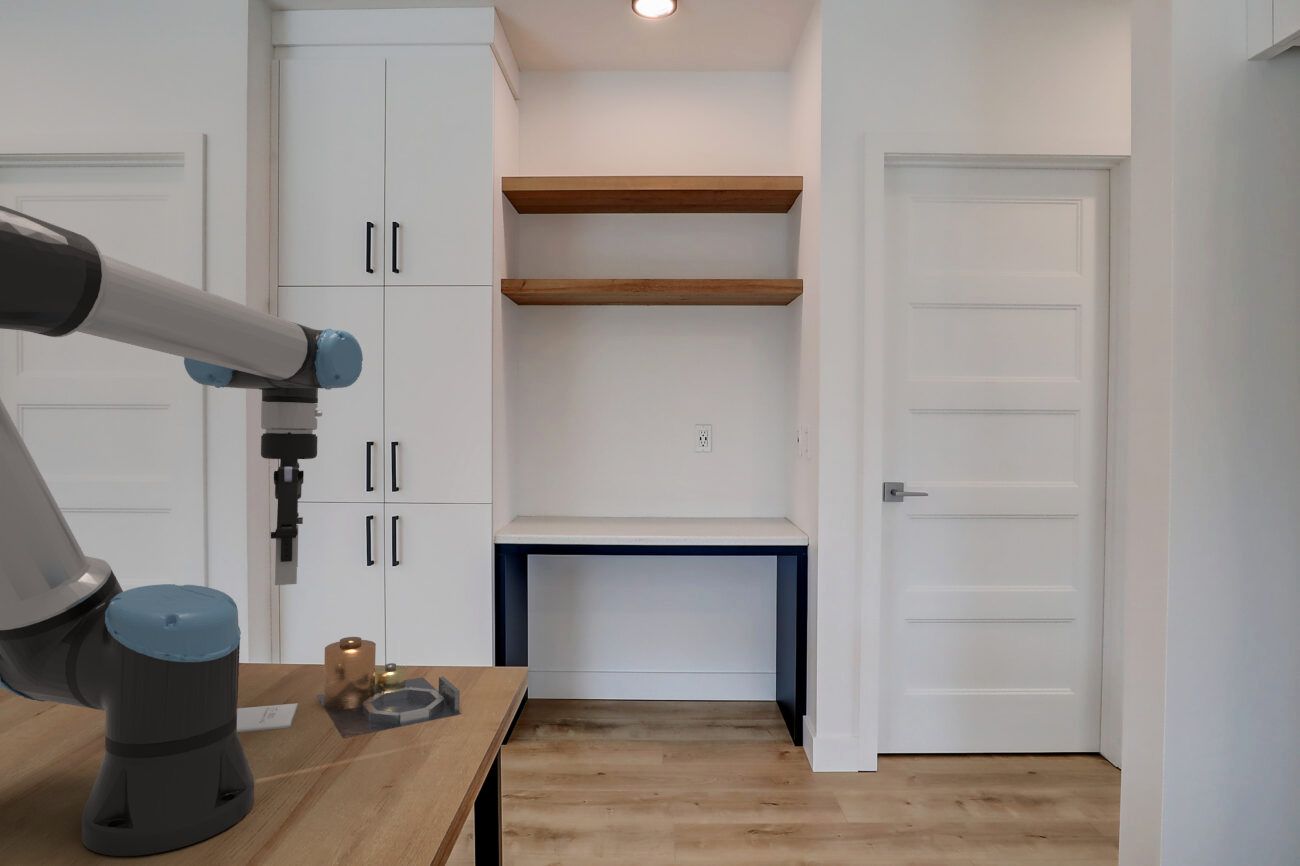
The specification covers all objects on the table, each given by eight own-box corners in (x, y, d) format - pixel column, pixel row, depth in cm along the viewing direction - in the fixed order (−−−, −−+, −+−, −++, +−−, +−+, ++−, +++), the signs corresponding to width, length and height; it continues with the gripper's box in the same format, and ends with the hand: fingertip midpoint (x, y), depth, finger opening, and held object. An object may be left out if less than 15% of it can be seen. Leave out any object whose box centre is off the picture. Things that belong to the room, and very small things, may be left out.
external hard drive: (200, 722, 104) (298, 712, 108) (184, 746, 96) (290, 734, 100) (200, 710, 104) (298, 701, 108) (184, 733, 96) (290, 722, 100)
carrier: (462, 717, 106) (462, 687, 106) (343, 741, 97) (343, 709, 97) (422, 680, 121) (423, 653, 121) (316, 698, 112) (317, 670, 112)
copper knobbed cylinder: (380, 703, 109) (381, 642, 109) (329, 712, 105) (330, 649, 105) (368, 688, 115) (369, 630, 115) (319, 697, 111) (320, 637, 111)
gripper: (318, 433, 100) (315, 590, 100) (316, 431, 123) (314, 559, 123) (256, 432, 97) (252, 594, 97) (265, 430, 120) (262, 562, 120)
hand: (287, 575), depth 110 cm, fingers open, 13 cm apart
